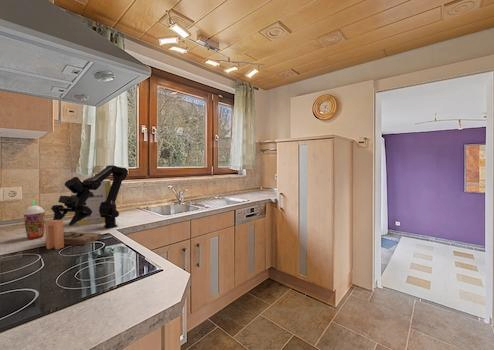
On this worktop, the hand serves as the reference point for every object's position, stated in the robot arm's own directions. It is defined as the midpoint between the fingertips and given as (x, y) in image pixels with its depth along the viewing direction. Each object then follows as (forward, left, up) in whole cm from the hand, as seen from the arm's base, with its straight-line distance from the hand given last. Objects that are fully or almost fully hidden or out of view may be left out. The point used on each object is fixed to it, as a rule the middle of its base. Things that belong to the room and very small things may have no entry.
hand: (61, 225), depth 108 cm
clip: (+2, -3, -10) cm, 10 cm away
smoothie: (-24, -10, -10) cm, 28 cm away
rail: (-4, +5, -10) cm, 12 cm away
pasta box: (-39, +19, -10) cm, 45 cm away
